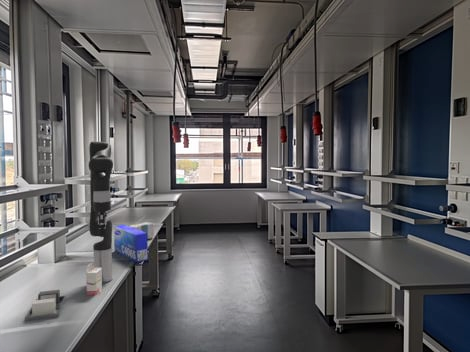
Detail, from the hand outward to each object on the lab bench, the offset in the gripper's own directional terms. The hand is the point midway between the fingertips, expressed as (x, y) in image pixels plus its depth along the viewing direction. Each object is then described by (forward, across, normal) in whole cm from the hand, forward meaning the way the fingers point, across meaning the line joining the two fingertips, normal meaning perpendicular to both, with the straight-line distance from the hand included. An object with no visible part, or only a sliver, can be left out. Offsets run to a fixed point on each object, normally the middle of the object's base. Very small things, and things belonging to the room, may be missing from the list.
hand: (103, 235), depth 165 cm
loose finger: (+29, +14, -23) cm, 39 cm away
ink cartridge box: (+30, -8, -5) cm, 32 cm away
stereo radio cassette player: (+30, -121, +23) cm, 127 cm away
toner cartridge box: (+30, -75, +13) cm, 82 cm away
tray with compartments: (+30, +8, -23) cm, 39 cm away
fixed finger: (+29, +3, -23) cm, 37 cm away
